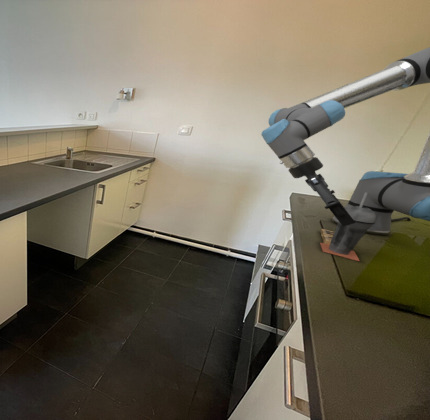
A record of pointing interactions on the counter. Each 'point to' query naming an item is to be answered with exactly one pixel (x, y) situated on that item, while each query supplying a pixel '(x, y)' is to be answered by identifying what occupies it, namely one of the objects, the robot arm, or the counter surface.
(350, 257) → the slot pad
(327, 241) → the oak tile
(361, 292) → the counter surface
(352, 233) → the beverage cup
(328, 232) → the oak tile
